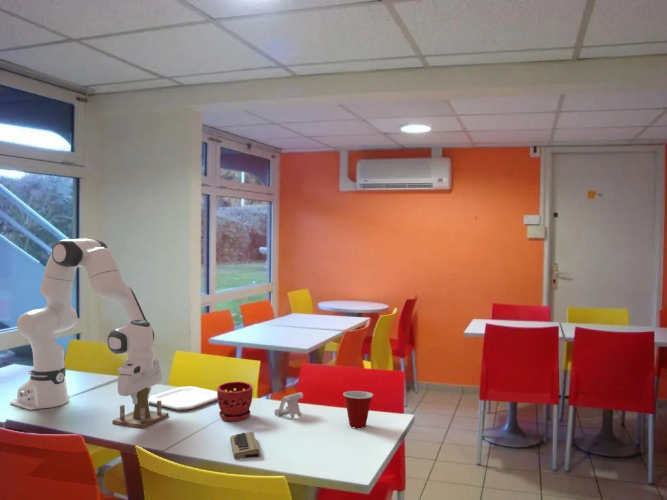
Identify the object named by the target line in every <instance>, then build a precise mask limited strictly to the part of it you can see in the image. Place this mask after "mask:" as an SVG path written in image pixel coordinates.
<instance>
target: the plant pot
mask: <svg viewBox="0 0 667 500" xmlns="http://www.w3.org/2000/svg"><path fill="white" fill-rule="evenodd" d="M234 389H235V390H234ZM253 389H254V387H253V385H252V384H251V383H248V382H244V381H230V382H224V383H221V384H219V385H218V386H217V390H216V391H217V398H218V399H217V404H218V408H219V409H220V410H219V412H218V415H219V417H220V418H221V419H223V420H225V421H230V422H236V421H238V422H239V421H243V420H246V419H247V418H248V417H249V416H250V415H251V410H250V407H251V405H252V402H253V391H254V390H253Z"/></svg>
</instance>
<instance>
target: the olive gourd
mask: <svg viewBox="0 0 667 500" xmlns="http://www.w3.org/2000/svg"><path fill="white" fill-rule="evenodd" d="M148 393H149V389H148V388H144V389H142V390H141V391H139V392H137V395H136V396H137V398H139V403H138V404H134V406H133V411H134V414H133V418H134V419H138V420H140V409H141V408H145V419H146V418H149V417H150V411H151V410H150V407H149V406H150V405H149V404H150V403H149V402H148V398H147V395H148Z"/></svg>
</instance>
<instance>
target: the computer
mask: <svg viewBox="0 0 667 500" xmlns="http://www.w3.org/2000/svg"><path fill="white" fill-rule="evenodd" d="M230 444H231V451H232V454H233V458H234V460H241V459H240V458H243V459H249V458H250V459H252V458H260V457H261V452H260V448H259V446H258V442H257V440H256V435H255V433H254V432H253V431H248V432H242V433H237V434H233V435H231V436H230Z"/></svg>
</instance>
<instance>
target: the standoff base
mask: <svg viewBox="0 0 667 500" xmlns="http://www.w3.org/2000/svg"><path fill="white" fill-rule="evenodd" d="M125 411H126V409H125V405H124V404H121V405H119V417H117V418H114V419H113V420H112V425H119V426H125V427H130V428H131V427H132V428H137V429H146V428H148V427H150V426H152V425H154V424H156V423H158V422H160V421H162V420H164V419H167V418H168V417H169V416H170V415H169V412H162V406H161V401H157V405H156V411H154V410H149V411H150V417H149V418H146V419H145V408H141V409H140V420H138V419H134V418H133V414H134V410H133V411H131V412H128V413H126V414H125Z"/></svg>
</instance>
